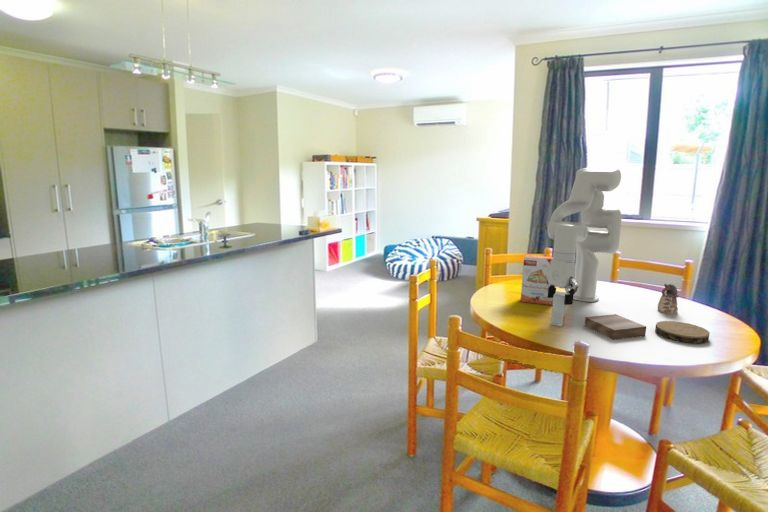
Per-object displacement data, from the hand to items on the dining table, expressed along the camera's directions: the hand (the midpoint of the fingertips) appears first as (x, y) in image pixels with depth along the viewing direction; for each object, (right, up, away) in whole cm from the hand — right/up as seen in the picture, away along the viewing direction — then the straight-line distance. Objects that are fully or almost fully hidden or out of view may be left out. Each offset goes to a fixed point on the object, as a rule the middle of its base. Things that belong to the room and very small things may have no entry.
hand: (559, 300), depth 163 cm
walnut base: (+18, -11, -5) cm, 22 cm away
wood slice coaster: (+40, -12, -9) cm, 43 cm away
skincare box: (0, -9, +2) cm, 9 cm away
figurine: (+53, -6, +18) cm, 56 cm away
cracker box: (+2, -4, +29) cm, 30 cm away
